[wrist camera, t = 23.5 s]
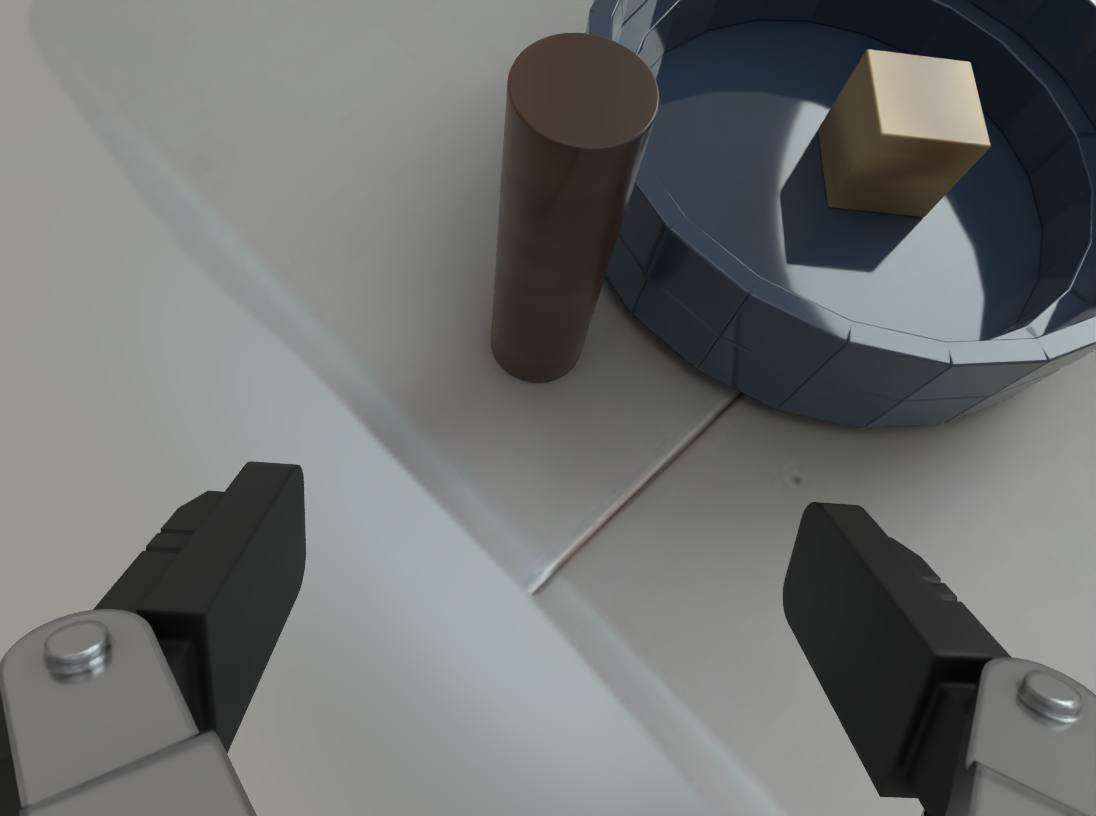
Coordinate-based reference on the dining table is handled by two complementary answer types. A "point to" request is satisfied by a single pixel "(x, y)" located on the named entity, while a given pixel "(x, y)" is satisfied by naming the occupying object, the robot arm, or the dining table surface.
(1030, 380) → the bowl
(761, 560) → the dining table surface
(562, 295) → the brown cylinder
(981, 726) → the robot arm
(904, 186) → the block
